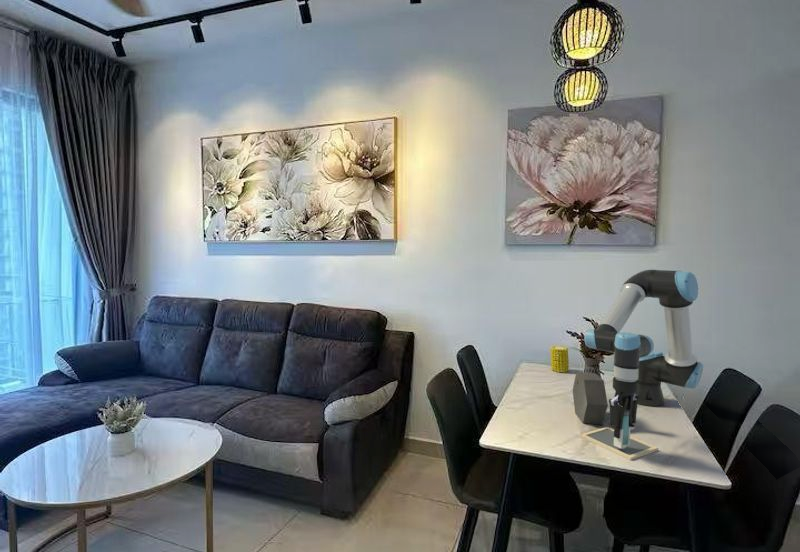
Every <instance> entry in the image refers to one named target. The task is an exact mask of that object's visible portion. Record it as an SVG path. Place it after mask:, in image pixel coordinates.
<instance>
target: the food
mask: <svg viewBox="0 0 800 552" xmlns="http://www.w3.org/2000/svg"><path fill="white" fill-rule="evenodd" d="M549 351H550V363H551V371H553V370H554V372H556V373H558V372H559V373H561V372H562V373H568V372H569V369H570V367H569V365H570V364H569V356H570V355H569V348H568V347H567V346H564V345H561V344H560V345H559V344H557V345H552V346H550V350H549ZM567 371H568V372H567Z"/></svg>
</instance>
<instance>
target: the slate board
mask: <svg viewBox="0 0 800 552" xmlns="http://www.w3.org/2000/svg"><path fill="white" fill-rule="evenodd" d="M579 437H580V438H582V439H584V440H586V441H589V442H590V443H592V444H595V445H597V446H599V447H601V448H604V449H605V450H608V451H610V452H612V453H614V454H615V455H618V456H619V457H622V458H625V459H627V460H629V461H632V460H635V459H639V458H641V457H643V456H646V455H649V454H652V453H654V452H657V451H659V448H658V447H656V446H654V445H652V444H649V443H647V442H644V441H642V440H640V439H637V438H635V437H633V436H631V435H630V446H627V448H626V449H621V448H618V447H617V446H614V428H613V427H609V426H605V427H601V428H598V429H594V430H592V431H588V432H583V433H581V434H580V436H579Z"/></svg>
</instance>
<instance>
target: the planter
mask: <svg viewBox="0 0 800 552" xmlns="http://www.w3.org/2000/svg"><path fill="white" fill-rule="evenodd" d="M572 387H573V388H572V399H573V406H574V414H575V415H576V416H577V419H579V420H580V422H581V423H582V424H591V425H592V424H593V425H594V424H595V425H604V421H605V417H606V414H607V409H608V404H609V403H608V398H607V392H606V386H605V380H604V379H603V378H601V376H599V375H598V374H597V373H595V372H581V371H580V372H579V371H576V373H575V376H574V382H573V385H572Z"/></svg>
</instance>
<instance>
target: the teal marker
mask: <svg viewBox="0 0 800 552" xmlns="http://www.w3.org/2000/svg"><path fill="white" fill-rule="evenodd" d="M628 425H629V410H627V409H626V410H625V411H624V417H623V423H622V429H623V444H622V448H621V449H626V448H627V442H628ZM618 448H619V447H618Z"/></svg>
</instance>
